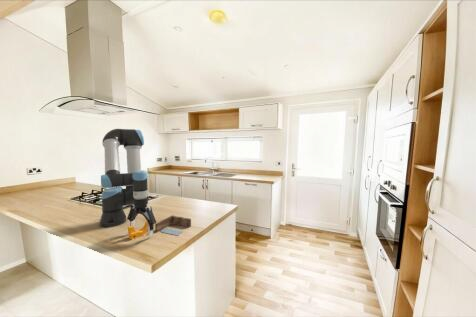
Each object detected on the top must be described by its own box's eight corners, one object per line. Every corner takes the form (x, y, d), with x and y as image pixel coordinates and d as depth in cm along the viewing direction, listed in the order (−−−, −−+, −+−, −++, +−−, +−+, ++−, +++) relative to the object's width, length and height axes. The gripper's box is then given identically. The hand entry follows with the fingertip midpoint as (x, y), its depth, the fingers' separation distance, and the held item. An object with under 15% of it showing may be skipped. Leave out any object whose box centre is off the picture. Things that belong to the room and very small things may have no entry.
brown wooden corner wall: (155, 231, 114) (155, 223, 113) (172, 222, 127) (172, 215, 127) (175, 236, 108) (175, 228, 108) (191, 226, 122) (190, 218, 121)
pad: (160, 231, 113) (160, 231, 113) (166, 228, 118) (166, 227, 118) (177, 235, 109) (177, 235, 109) (183, 232, 113) (183, 231, 113)
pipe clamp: (131, 240, 104) (131, 228, 103) (128, 237, 106) (127, 226, 106) (152, 232, 113) (152, 221, 113) (148, 230, 116) (148, 220, 115)
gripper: (119, 197, 108) (120, 232, 110) (151, 201, 99) (153, 240, 100) (131, 194, 115) (132, 227, 117) (162, 198, 106) (163, 234, 107)
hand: (141, 233), depth 109 cm, fingers open, 13 cm apart
